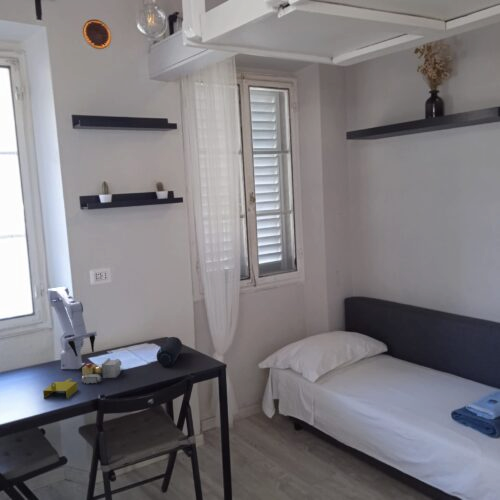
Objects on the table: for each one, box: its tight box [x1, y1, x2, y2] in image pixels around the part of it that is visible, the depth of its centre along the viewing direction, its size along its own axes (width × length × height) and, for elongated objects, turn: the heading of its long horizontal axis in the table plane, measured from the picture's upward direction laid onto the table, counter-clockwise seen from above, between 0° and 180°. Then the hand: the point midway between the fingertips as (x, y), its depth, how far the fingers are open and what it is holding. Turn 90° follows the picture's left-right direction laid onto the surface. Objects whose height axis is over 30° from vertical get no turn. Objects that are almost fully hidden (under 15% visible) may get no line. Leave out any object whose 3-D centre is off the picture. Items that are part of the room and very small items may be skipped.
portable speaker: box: [156, 336, 183, 367], centre depth 270 cm, size 25×10×10 cm, turn 178°
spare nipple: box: [81, 374, 102, 385], centre depth 244 cm, size 8×3×3 cm, turn 86°
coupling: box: [101, 358, 122, 379], centre depth 255 cm, size 6×14×7 cm, turn 175°
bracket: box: [42, 378, 79, 399], centre depth 233 cm, size 16×8×15 cm
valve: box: [81, 362, 102, 376], centre depth 253 cm, size 9×5×6 cm, turn 84°
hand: (84, 354), depth 253 cm, fingers open, 7 cm apart
